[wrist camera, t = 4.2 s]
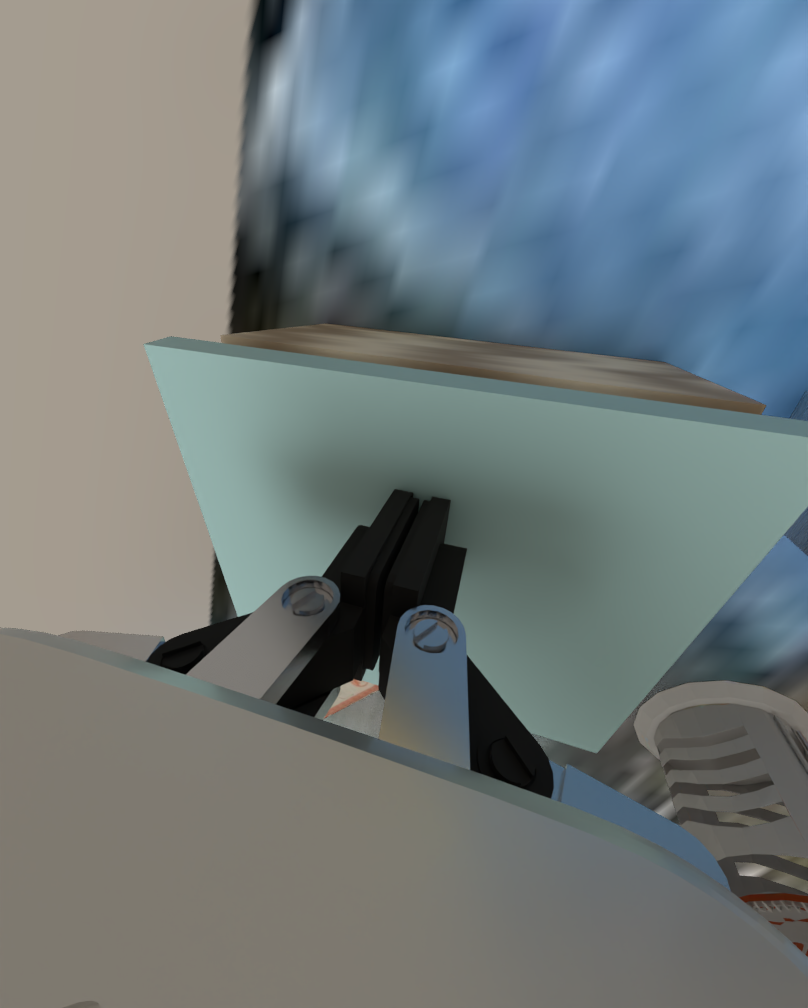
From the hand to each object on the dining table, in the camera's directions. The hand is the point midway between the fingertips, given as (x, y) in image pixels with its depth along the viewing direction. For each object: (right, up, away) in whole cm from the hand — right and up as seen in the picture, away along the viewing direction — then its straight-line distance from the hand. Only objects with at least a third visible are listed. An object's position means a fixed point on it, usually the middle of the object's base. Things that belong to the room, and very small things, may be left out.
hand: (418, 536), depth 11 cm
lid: (0, -1, +2) cm, 3 cm away
